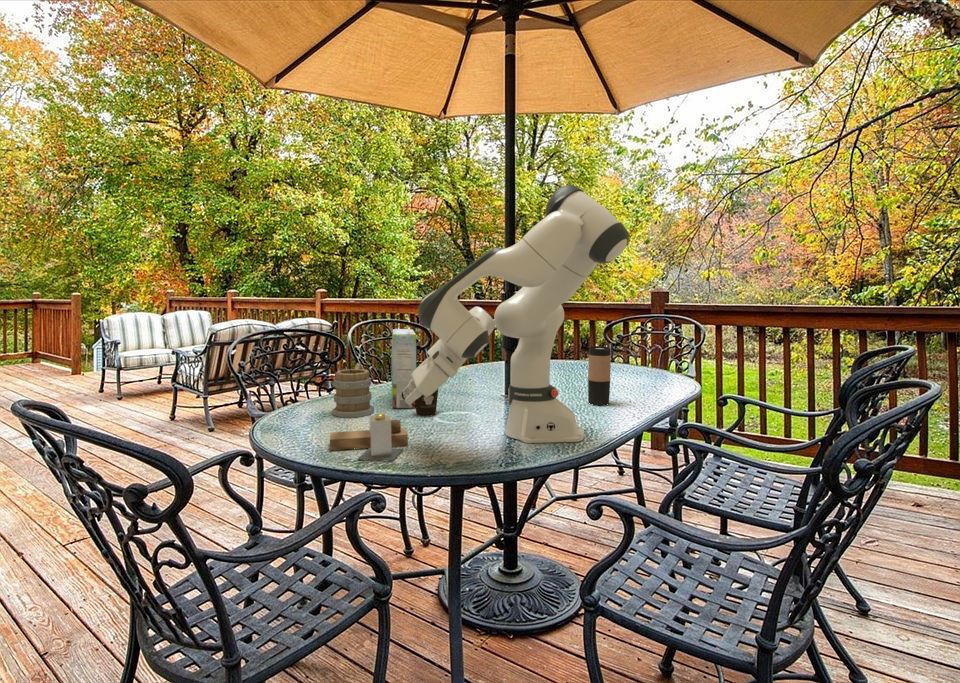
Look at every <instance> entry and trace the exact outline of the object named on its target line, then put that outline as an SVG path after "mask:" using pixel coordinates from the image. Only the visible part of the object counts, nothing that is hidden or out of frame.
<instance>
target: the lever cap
mask: <svg viewBox="0 0 960 683" xmlns="http://www.w3.org/2000/svg"><path fill="white" fill-rule="evenodd" d="M391 420H392V419H391V416H390V415H386V414H385V413H376V414H374V416H369V430H370V451H371V457H382V456H392V448H393V447H392V442H391Z"/></svg>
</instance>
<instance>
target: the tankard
mask: <svg viewBox="0 0 960 683" xmlns="http://www.w3.org/2000/svg"><path fill="white" fill-rule="evenodd" d="M362 367H363V366H362V364H361V363H360V362H357V363H356V364H355V367H354V368H348V369H339V370H337V371H336V372H335V373H334V374H335V379H334V380H333V381H332V383H333V388H335V393H334V394H333V401H334V402H335V403H336V404H335V407H333V409H332V410H331V415H332V416H335V417H338V418H341V419H345V418H346V419H347V418H350V419H351V418H352V419H355V418H358V419H359V418H361V417H367V416H371V415H372V413H373V412H375V406H374V405H371V403H370V402H371V400H372V392H371V391H370V386H371V385H372V378H371V377H370V370H368V369H362Z"/></svg>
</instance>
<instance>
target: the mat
mask: <svg viewBox="0 0 960 683" xmlns="http://www.w3.org/2000/svg"><path fill="white" fill-rule="evenodd" d="M403 451H404V448H395V447H394V448H393V447H392V456H382V457H371V451H370V448H368V449H366V450H365V451H364V452H363V453H362V454H361V455H360V456H359V457H358V458H357V460H358V459H368V460H388V461H387V462H391V461H394V460H395V459H396V460H397V458H398V457H399V456H400V455H401V454H402V453H403ZM400 453H401V454H400ZM399 454H400V455H399ZM398 455H399V456H398ZM397 456H398V457H397ZM396 457H397V458H396ZM396 460H395V461H396ZM395 461H394V462H395Z"/></svg>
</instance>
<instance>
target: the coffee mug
mask: <svg viewBox="0 0 960 683" xmlns="http://www.w3.org/2000/svg"><path fill="white" fill-rule="evenodd" d="M413 391H414V390H413ZM413 391H412V392H413ZM438 396H439V388H438V389H437V390H436V391H435V392H434V393H433V394H431V395H430V396H428V397H425V396H424V395H423V394H422V396H421V397H419V398H418V399H416V400H415V404H413V403H412V404H411V405H413V406H414V407H415V408H414V409H415V412H416V413H415V414H416V415H417V416H420V417H431V415H432V416H436V414H437V406H438ZM402 398H403V399H404V400H405V398H404V397H403V391H402Z"/></svg>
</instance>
